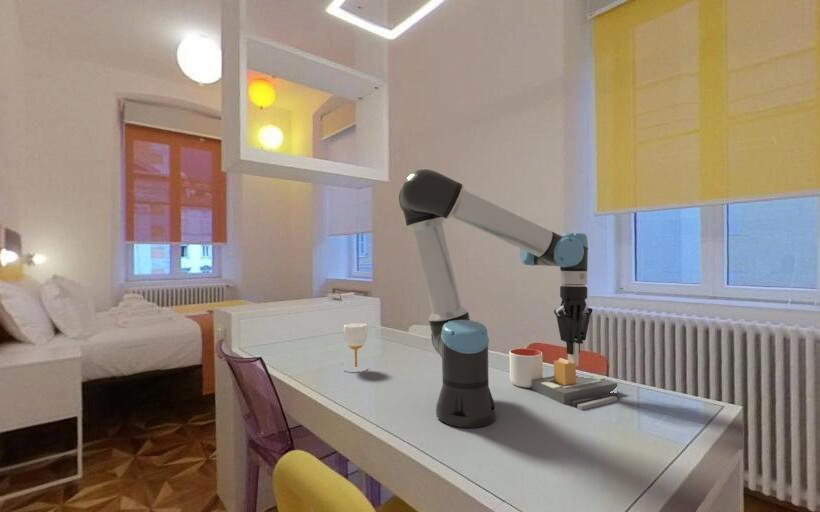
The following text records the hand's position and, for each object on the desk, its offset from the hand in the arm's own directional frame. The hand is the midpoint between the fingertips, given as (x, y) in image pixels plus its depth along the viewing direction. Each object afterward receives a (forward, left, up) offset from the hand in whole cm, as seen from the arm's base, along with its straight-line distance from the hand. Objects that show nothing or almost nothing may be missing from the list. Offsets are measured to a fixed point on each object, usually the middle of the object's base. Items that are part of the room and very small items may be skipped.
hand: (573, 364), depth 118 cm
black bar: (-1, -9, -8) cm, 12 cm away
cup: (-8, +12, -8) cm, 16 cm away
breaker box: (0, 0, -8) cm, 8 cm away
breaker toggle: (-3, 0, -5) cm, 6 cm away
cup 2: (-53, +51, -8) cm, 74 cm away
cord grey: (-2, -11, -8) cm, 13 cm away
